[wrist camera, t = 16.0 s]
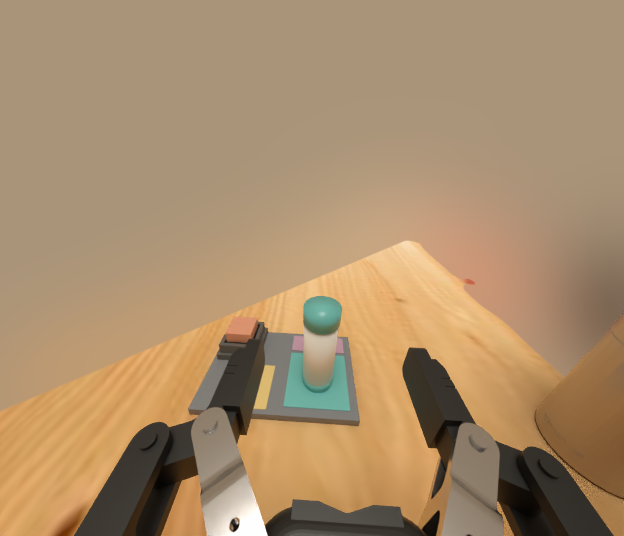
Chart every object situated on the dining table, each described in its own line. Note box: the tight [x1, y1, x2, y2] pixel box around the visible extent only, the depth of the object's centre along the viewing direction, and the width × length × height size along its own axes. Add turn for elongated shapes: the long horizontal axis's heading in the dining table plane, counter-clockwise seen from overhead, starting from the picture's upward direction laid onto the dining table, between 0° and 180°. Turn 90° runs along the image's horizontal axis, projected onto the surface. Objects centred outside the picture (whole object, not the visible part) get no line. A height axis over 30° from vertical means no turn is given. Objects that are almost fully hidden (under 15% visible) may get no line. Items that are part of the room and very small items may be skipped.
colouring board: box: [188, 322, 360, 426], centre depth 31 cm, size 20×13×4 cm, turn 88°
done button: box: [225, 317, 258, 343], centre depth 33 cm, size 4×4×2 cm
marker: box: [302, 296, 342, 393], centre depth 27 cm, size 4×4×12 cm
